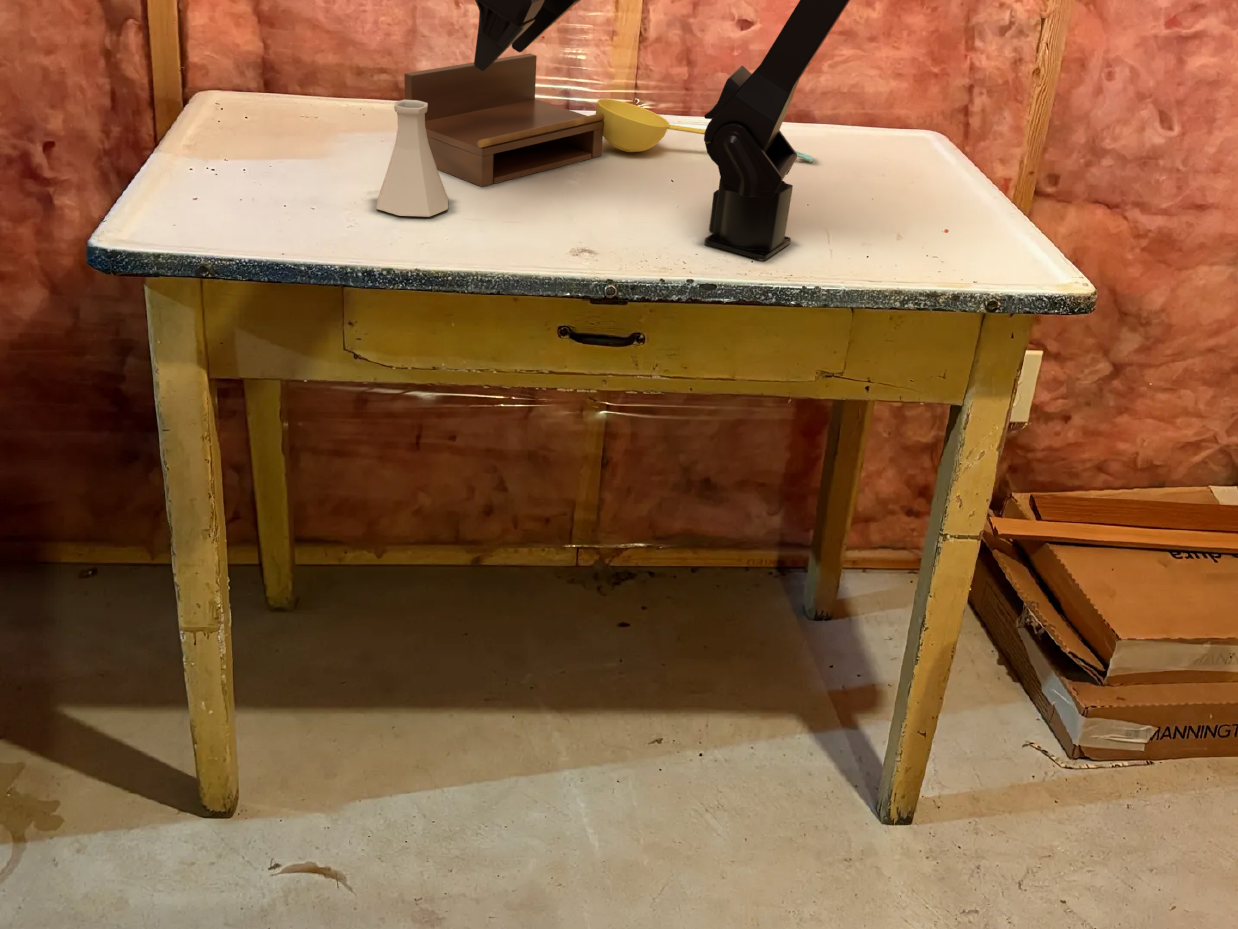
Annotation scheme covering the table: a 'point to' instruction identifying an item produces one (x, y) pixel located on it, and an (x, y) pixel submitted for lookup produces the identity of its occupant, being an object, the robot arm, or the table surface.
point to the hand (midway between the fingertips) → (498, 58)
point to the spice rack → (499, 122)
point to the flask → (412, 168)
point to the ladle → (639, 127)
